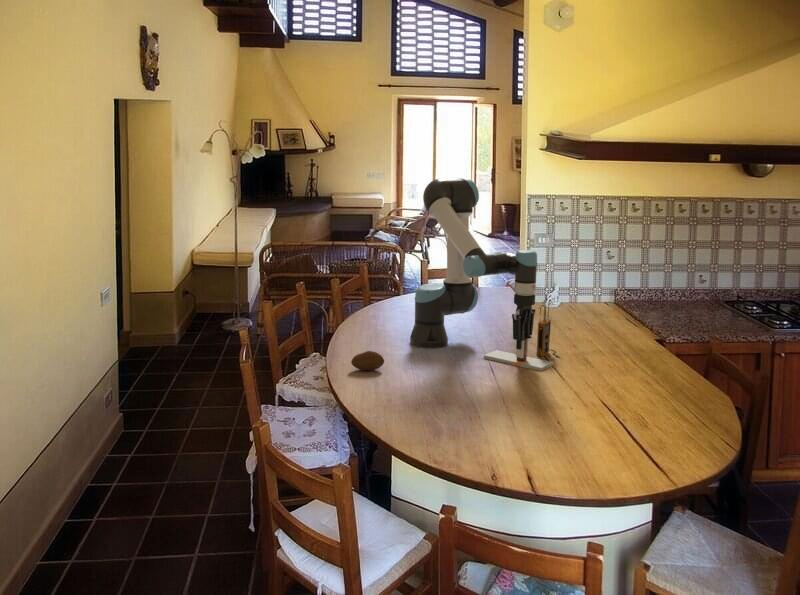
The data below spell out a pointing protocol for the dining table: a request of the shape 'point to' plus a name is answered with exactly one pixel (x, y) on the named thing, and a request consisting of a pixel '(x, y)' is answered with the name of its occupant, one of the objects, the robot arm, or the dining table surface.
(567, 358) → the dining table surface
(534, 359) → the panel
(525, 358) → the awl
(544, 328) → the multimeter
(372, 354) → the potato
